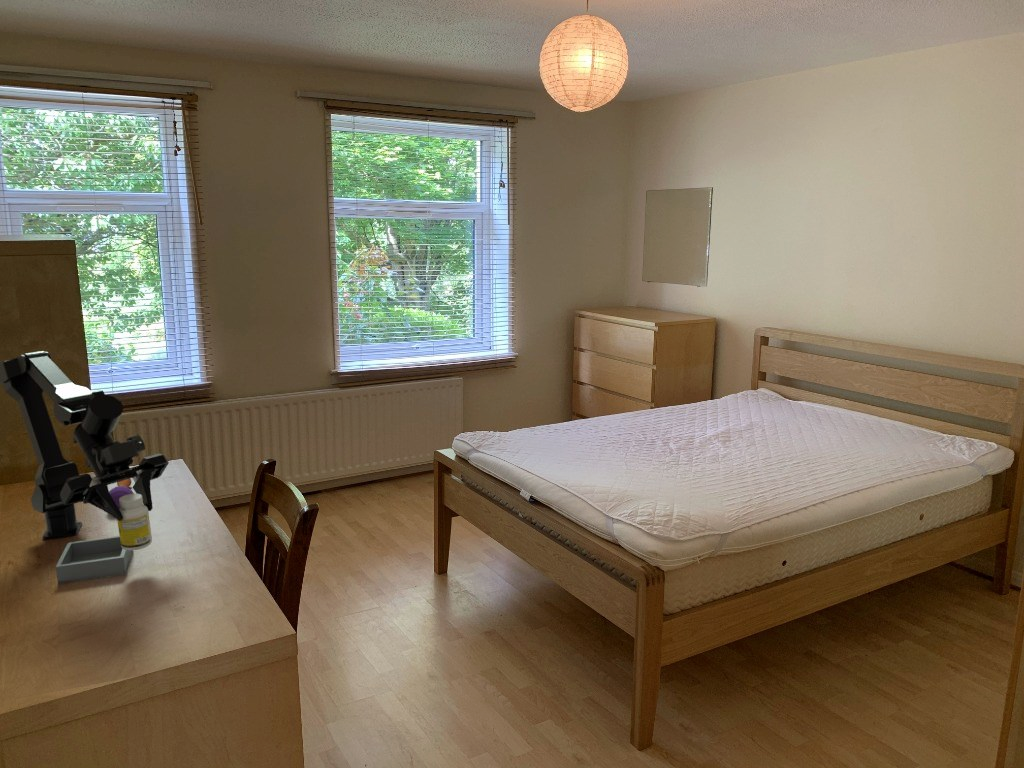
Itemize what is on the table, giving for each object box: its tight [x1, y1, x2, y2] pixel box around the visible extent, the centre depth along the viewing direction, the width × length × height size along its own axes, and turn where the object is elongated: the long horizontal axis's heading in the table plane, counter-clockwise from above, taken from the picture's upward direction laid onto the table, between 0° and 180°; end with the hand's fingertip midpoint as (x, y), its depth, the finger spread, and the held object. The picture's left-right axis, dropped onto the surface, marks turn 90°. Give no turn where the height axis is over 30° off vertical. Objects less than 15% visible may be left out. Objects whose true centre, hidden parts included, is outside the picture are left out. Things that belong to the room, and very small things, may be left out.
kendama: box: [109, 478, 135, 509], centre depth 182 cm, size 6×6×20 cm
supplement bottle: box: [116, 493, 153, 551], centre depth 144 cm, size 5×5×10 cm
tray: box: [55, 535, 134, 585], centre depth 148 cm, size 11×11×4 cm
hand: (136, 514), depth 143 cm, fingers closed on supplement bottle, 5 cm apart
